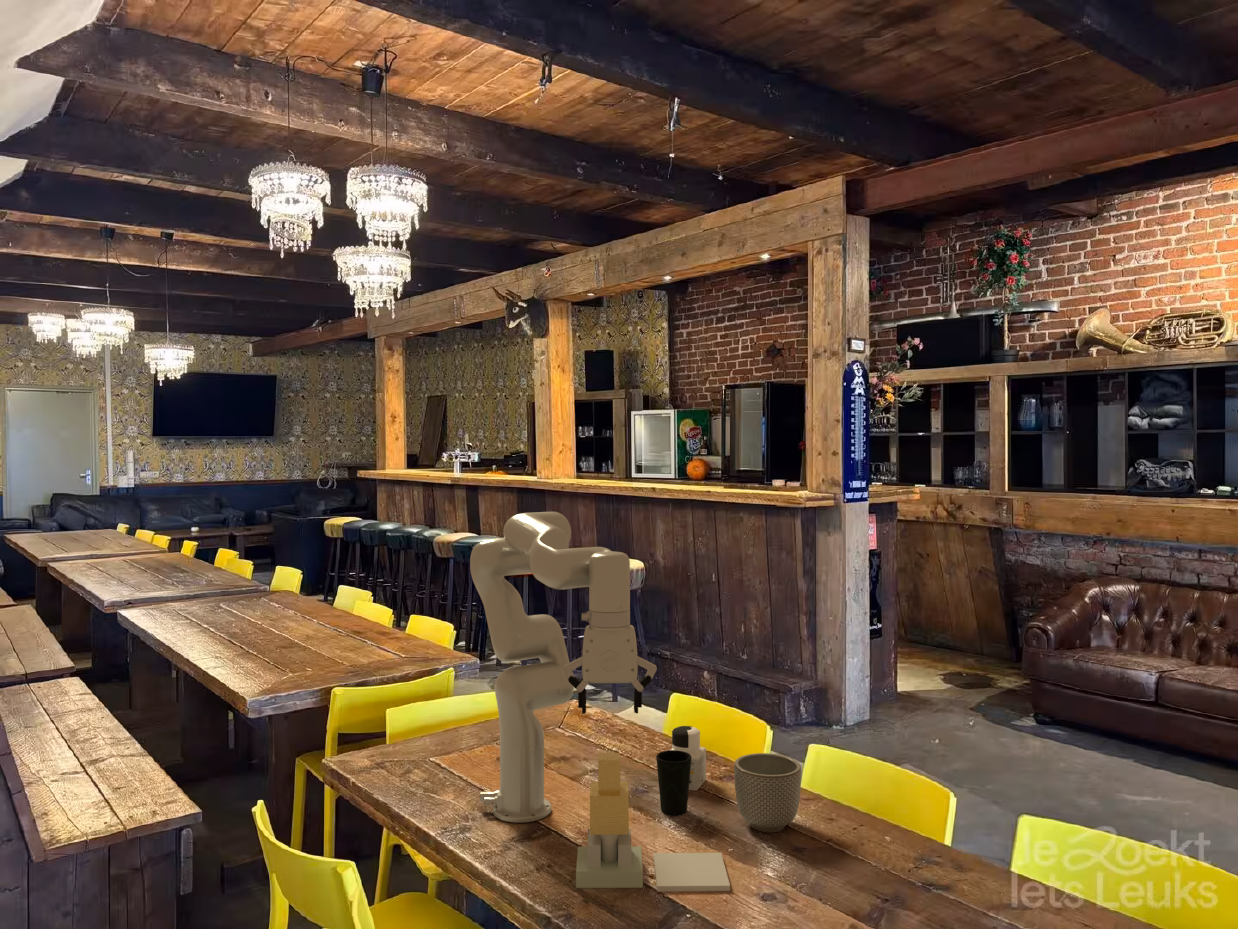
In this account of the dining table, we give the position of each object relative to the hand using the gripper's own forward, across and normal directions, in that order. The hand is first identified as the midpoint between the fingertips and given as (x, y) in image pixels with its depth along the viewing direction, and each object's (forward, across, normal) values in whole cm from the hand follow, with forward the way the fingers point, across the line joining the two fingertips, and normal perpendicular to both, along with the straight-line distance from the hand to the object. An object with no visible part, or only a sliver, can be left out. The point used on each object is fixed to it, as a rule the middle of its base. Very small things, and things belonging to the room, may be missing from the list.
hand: (610, 711), depth 166 cm
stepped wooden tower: (+21, 0, 0) cm, 21 cm away
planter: (+31, +33, +21) cm, 49 cm away
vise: (+30, 0, 0) cm, 30 cm away
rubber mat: (+30, +15, 0) cm, 34 cm away
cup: (+31, +14, +29) cm, 44 cm away
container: (+31, +18, +45) cm, 57 cm away
